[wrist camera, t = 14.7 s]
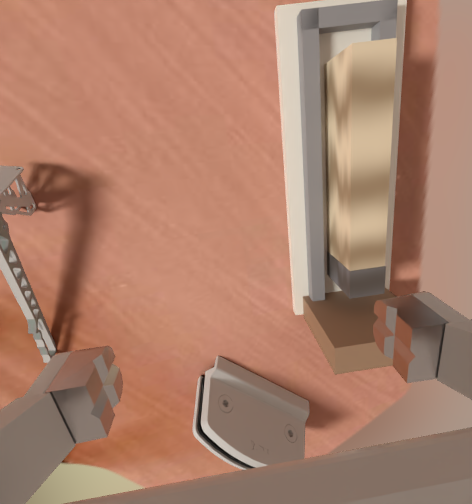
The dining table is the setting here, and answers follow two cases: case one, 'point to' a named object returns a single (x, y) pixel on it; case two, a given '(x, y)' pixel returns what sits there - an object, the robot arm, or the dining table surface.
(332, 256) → the wooden block
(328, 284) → the slot board
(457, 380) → the robot arm
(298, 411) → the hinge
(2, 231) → the bracket
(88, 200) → the dining table surface
